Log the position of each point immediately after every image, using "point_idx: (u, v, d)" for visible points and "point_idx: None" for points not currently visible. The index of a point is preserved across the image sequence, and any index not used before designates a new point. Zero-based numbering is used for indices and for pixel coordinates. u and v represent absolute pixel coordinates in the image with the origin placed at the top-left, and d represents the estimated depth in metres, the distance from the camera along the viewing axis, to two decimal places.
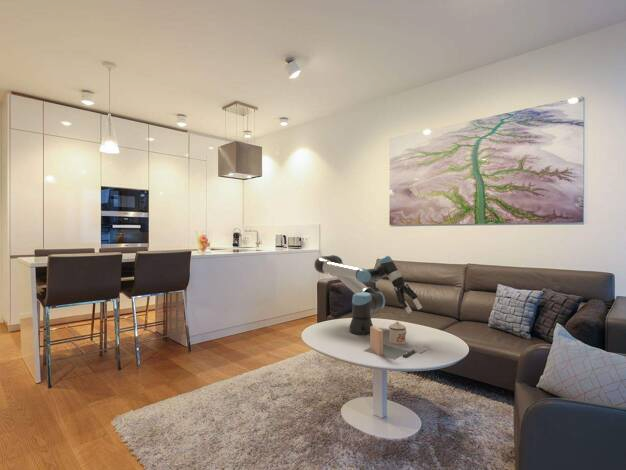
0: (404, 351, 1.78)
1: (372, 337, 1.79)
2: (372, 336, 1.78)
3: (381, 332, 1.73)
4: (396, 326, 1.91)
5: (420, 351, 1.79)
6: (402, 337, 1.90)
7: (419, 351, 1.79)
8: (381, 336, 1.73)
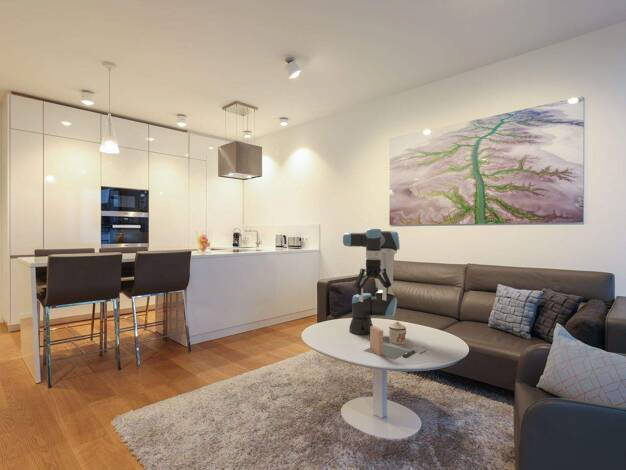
0: (404, 351, 1.78)
1: (372, 337, 1.79)
2: (372, 336, 1.78)
3: (381, 332, 1.73)
4: (396, 326, 1.91)
5: (420, 351, 1.79)
6: (402, 337, 1.90)
7: (419, 351, 1.79)
8: (381, 336, 1.73)
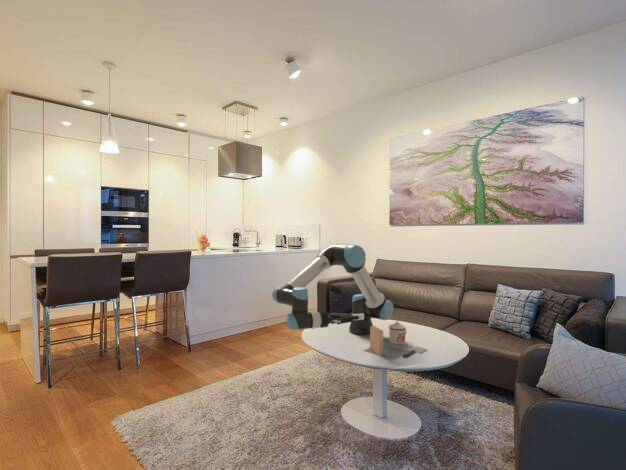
0: (404, 351, 1.78)
1: (372, 337, 1.79)
2: (372, 336, 1.78)
3: (381, 332, 1.73)
4: (396, 326, 1.91)
5: (420, 351, 1.79)
6: (402, 337, 1.90)
7: (419, 351, 1.79)
8: (381, 336, 1.73)
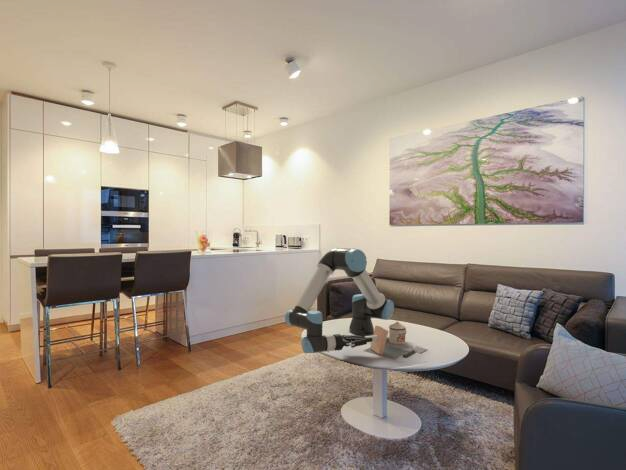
0: (404, 351, 1.78)
1: None
2: None
3: (386, 332, 1.73)
4: (396, 326, 1.91)
5: (420, 351, 1.79)
6: (402, 337, 1.90)
7: (419, 351, 1.79)
8: (385, 336, 1.73)
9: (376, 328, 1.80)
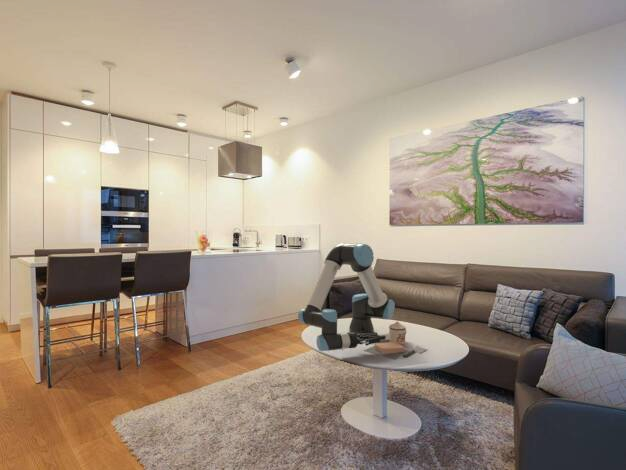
0: (404, 351, 1.78)
1: (388, 343, 1.82)
2: (390, 344, 1.81)
3: (402, 350, 1.77)
4: (396, 326, 1.91)
5: (420, 351, 1.79)
6: (402, 337, 1.90)
7: (419, 351, 1.79)
8: (399, 350, 1.76)
9: (394, 342, 1.83)
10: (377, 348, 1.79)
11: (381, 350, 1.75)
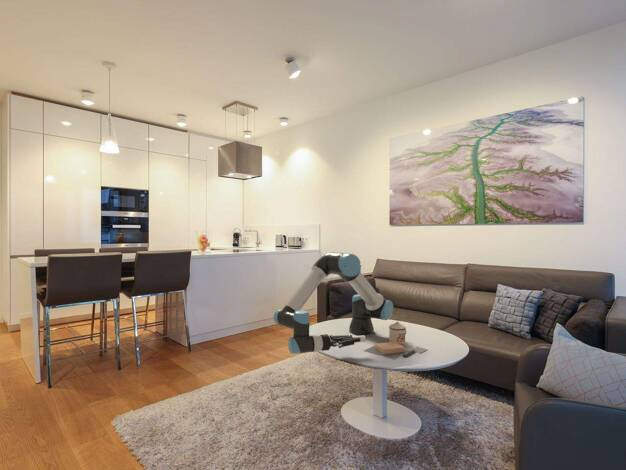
0: (404, 351, 1.78)
1: (388, 343, 1.82)
2: (390, 344, 1.81)
3: (402, 350, 1.77)
4: (396, 326, 1.91)
5: (420, 351, 1.79)
6: (402, 337, 1.90)
7: (419, 351, 1.79)
8: (399, 350, 1.76)
9: (394, 342, 1.83)
10: (377, 348, 1.79)
11: (381, 350, 1.75)
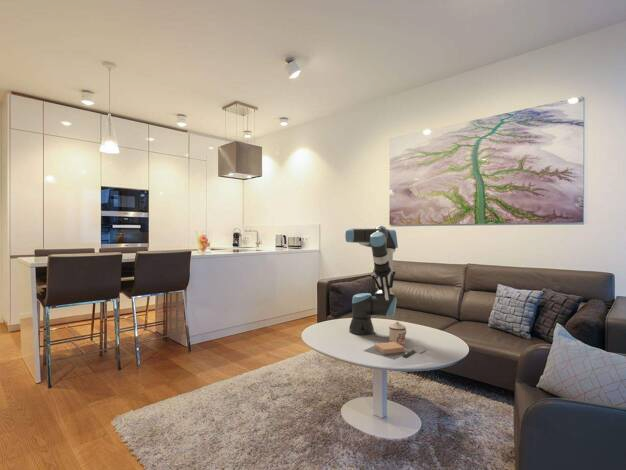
0: (404, 351, 1.78)
1: (388, 343, 1.82)
2: (390, 344, 1.81)
3: (402, 350, 1.77)
4: (396, 326, 1.91)
5: (420, 351, 1.79)
6: (402, 337, 1.90)
7: (419, 351, 1.79)
8: (399, 350, 1.76)
9: (394, 342, 1.83)
10: (377, 348, 1.79)
11: (381, 350, 1.75)
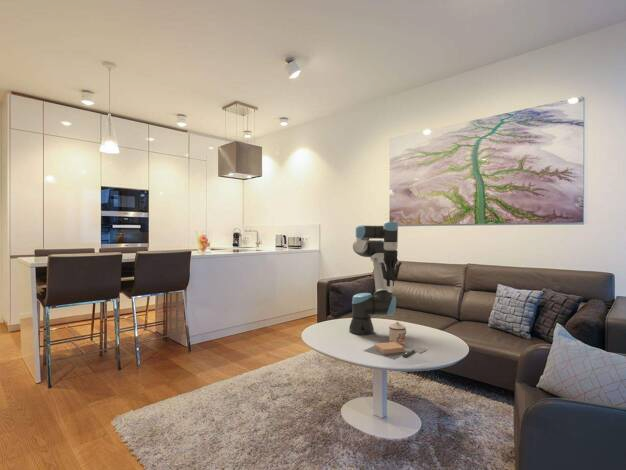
0: (404, 351, 1.78)
1: (388, 343, 1.82)
2: (390, 344, 1.81)
3: (402, 350, 1.77)
4: (396, 326, 1.91)
5: (420, 351, 1.79)
6: (402, 337, 1.90)
7: (419, 351, 1.79)
8: (399, 350, 1.76)
9: (394, 342, 1.83)
10: (377, 348, 1.79)
11: (381, 350, 1.75)
